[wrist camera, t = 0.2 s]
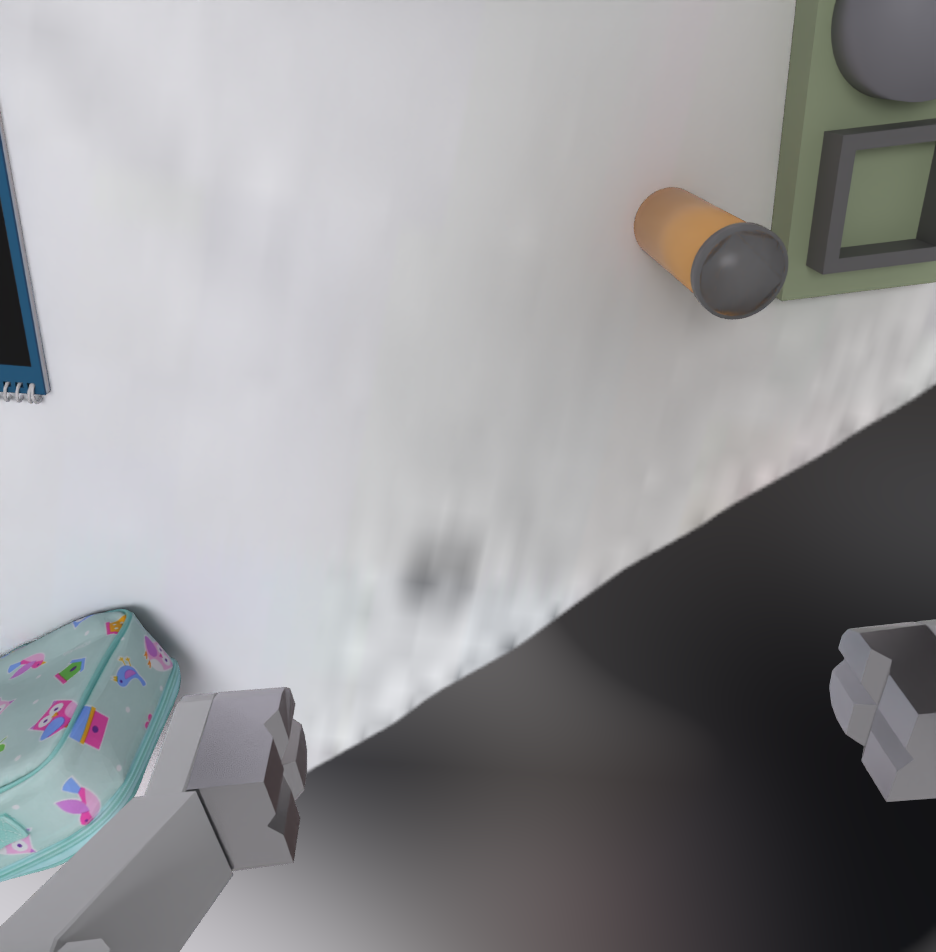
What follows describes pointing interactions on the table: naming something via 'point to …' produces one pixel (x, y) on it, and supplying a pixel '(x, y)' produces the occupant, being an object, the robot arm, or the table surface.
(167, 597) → the table surface
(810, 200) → the green slab
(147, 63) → the table surface
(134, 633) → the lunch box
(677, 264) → the orange pill bottle
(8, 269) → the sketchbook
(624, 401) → the table surface
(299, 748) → the robot arm
